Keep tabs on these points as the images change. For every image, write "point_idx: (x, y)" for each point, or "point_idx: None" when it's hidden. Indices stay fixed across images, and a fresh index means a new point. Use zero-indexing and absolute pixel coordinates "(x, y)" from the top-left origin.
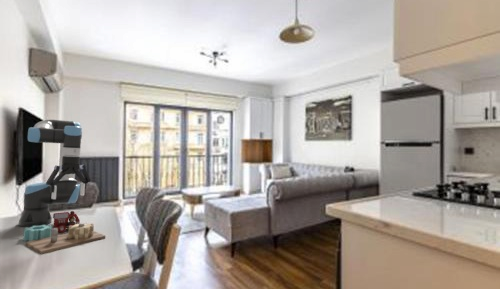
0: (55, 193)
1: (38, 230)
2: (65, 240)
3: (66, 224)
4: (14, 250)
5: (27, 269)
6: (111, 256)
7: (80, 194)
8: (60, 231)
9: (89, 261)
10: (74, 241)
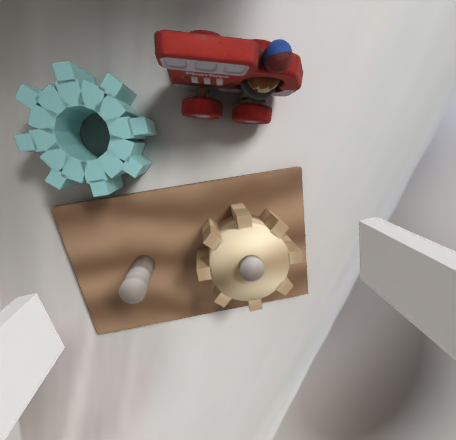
0: (6, 422)
1: (81, 182)
2: (182, 271)
3: (230, 86)
4: (23, 250)
5: (65, 410)
6: (249, 425)
7: (365, 232)
8: (197, 117)
9: (197, 429)
10: (204, 298)
